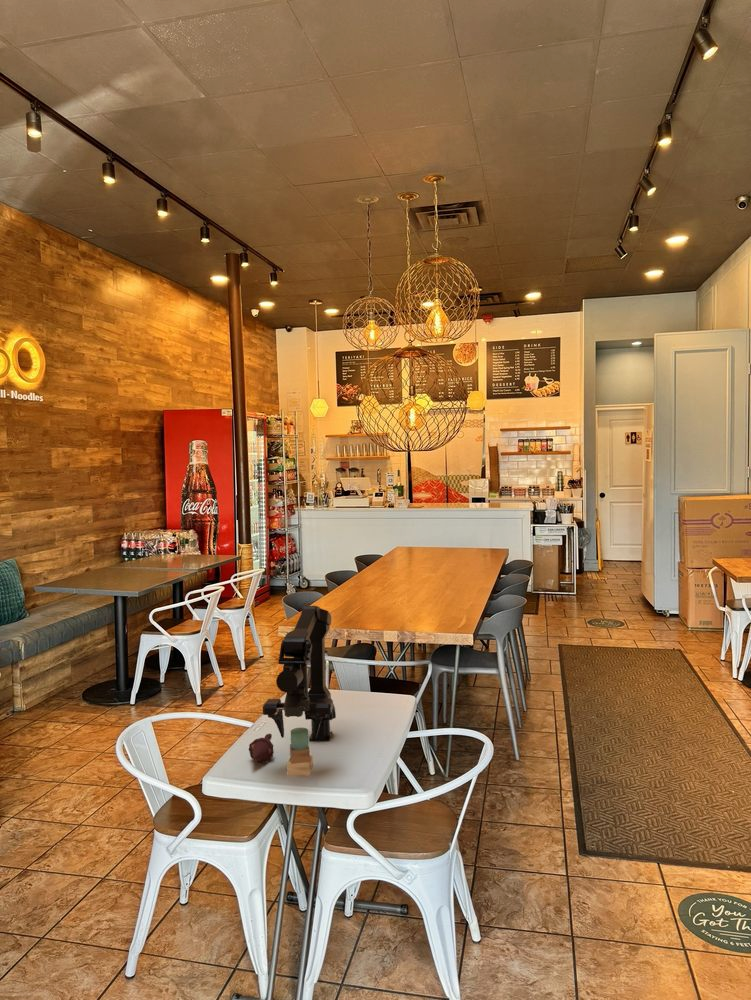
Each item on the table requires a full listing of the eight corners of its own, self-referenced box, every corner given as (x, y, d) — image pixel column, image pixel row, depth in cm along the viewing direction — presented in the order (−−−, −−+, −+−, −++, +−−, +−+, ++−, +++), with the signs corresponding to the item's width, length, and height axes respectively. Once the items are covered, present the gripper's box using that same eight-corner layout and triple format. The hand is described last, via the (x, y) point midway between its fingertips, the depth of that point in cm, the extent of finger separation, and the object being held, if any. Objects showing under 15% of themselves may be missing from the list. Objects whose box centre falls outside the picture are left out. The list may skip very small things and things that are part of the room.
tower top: (290, 756, 196) (289, 744, 196) (308, 754, 197) (307, 742, 197) (291, 763, 191) (291, 751, 191) (309, 761, 192) (309, 749, 192)
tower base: (292, 767, 197) (291, 754, 197) (313, 767, 197) (312, 754, 197) (287, 776, 191) (286, 763, 191) (308, 776, 191) (308, 763, 191)
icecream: (269, 749, 194) (283, 734, 208) (244, 742, 195) (259, 727, 209) (263, 774, 193) (277, 757, 208) (238, 766, 194) (254, 750, 209)
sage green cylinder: (293, 743, 196) (292, 727, 196) (310, 743, 196) (309, 727, 196) (289, 750, 192) (289, 733, 191) (306, 750, 191) (306, 734, 191)
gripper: (256, 690, 186) (259, 748, 186) (326, 690, 184) (328, 748, 185) (266, 678, 197) (268, 733, 197) (332, 677, 195) (334, 732, 196)
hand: (299, 737), depth 193 cm, fingers open, 9 cm apart
